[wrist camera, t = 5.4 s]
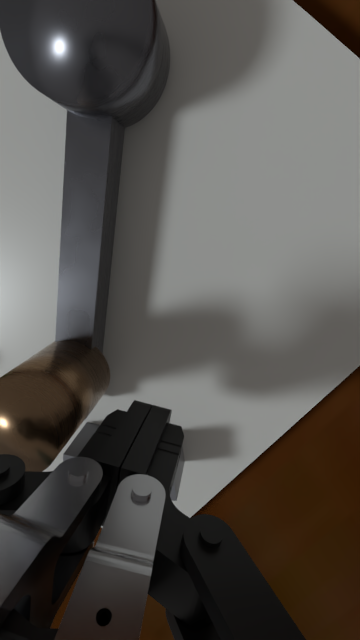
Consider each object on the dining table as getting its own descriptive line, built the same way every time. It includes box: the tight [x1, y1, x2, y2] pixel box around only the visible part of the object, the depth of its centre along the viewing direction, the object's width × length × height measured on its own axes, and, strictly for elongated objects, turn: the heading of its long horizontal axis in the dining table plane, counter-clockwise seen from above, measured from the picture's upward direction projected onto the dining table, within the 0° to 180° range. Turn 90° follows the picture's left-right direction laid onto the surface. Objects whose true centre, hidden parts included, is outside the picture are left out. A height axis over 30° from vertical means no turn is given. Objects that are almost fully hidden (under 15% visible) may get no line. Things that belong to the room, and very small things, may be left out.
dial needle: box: [0, 0, 170, 472], centre depth 11 cm, size 16×4×6 cm, turn 171°
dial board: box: [0, 0, 360, 528], centre depth 14 cm, size 24×30×4 cm
